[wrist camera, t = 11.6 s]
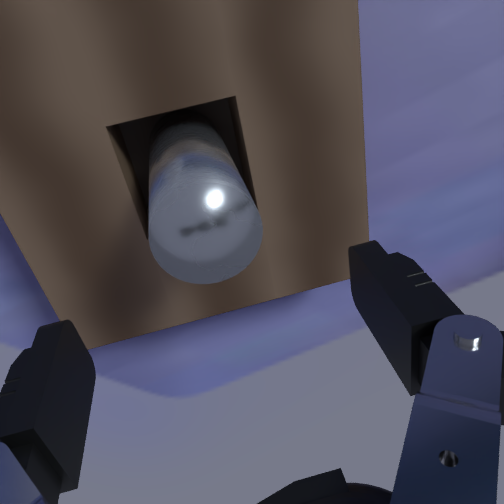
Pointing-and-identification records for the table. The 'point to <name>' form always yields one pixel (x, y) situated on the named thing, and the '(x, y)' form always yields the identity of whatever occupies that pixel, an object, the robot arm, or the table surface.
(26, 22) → the socket block
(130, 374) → the table surface
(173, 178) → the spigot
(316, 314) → the table surface
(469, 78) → the table surface
